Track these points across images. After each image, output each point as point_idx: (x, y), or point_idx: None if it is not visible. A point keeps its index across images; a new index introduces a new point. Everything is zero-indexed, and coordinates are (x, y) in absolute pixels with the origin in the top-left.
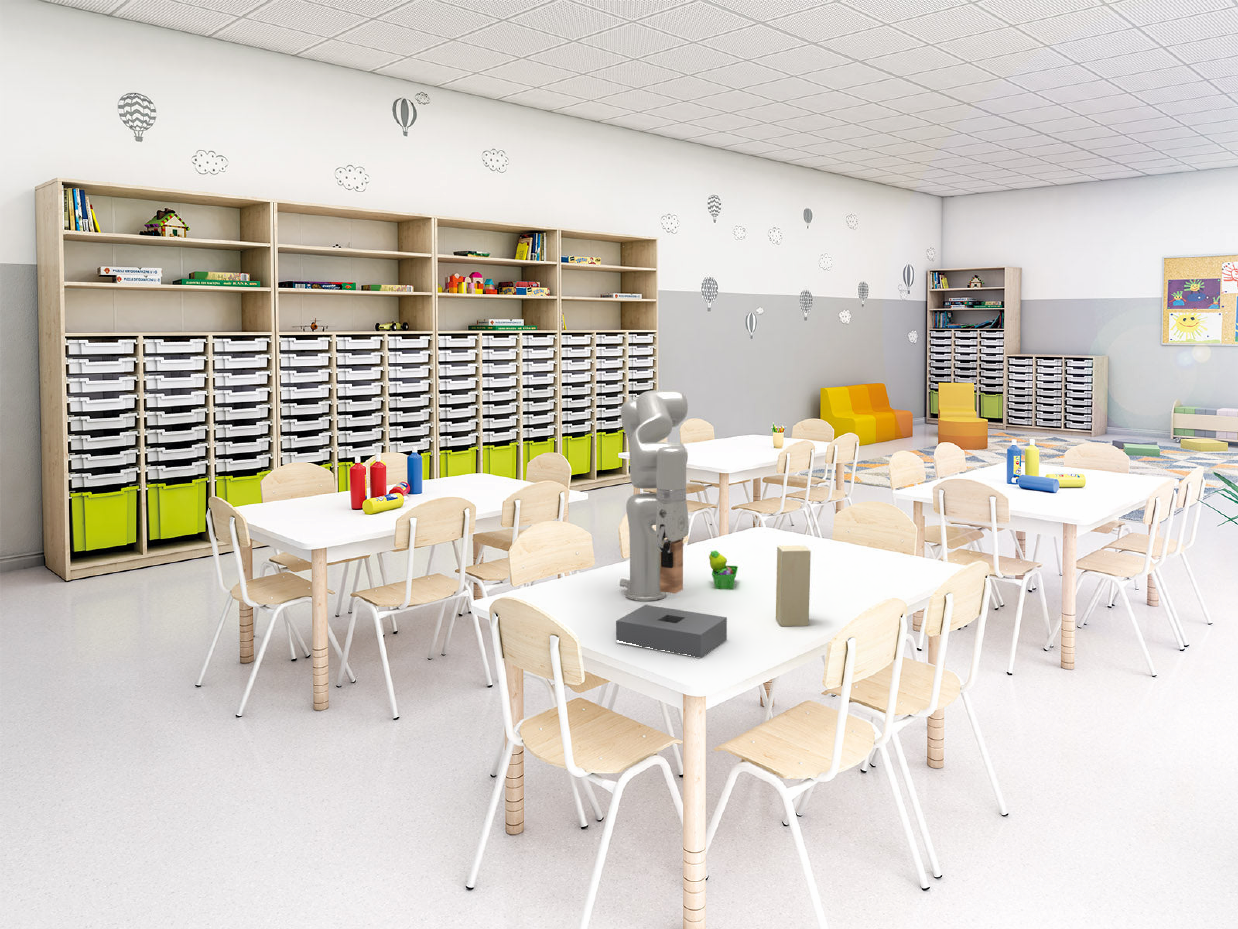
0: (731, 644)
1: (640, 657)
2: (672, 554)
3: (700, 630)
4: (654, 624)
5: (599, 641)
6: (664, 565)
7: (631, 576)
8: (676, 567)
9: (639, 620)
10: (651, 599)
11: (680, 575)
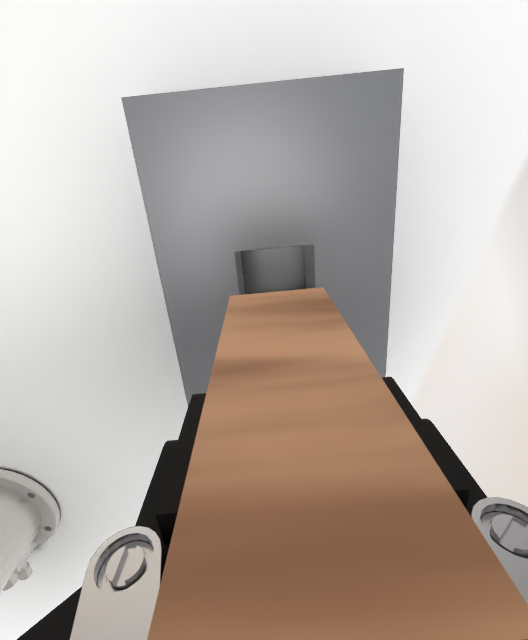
0: (184, 71)
1: (437, 267)
2: (447, 471)
3: (350, 103)
4: (363, 302)
5: None
6: None
7: (8, 579)
8: (342, 358)
9: None
10: (27, 480)
11: (262, 327)
